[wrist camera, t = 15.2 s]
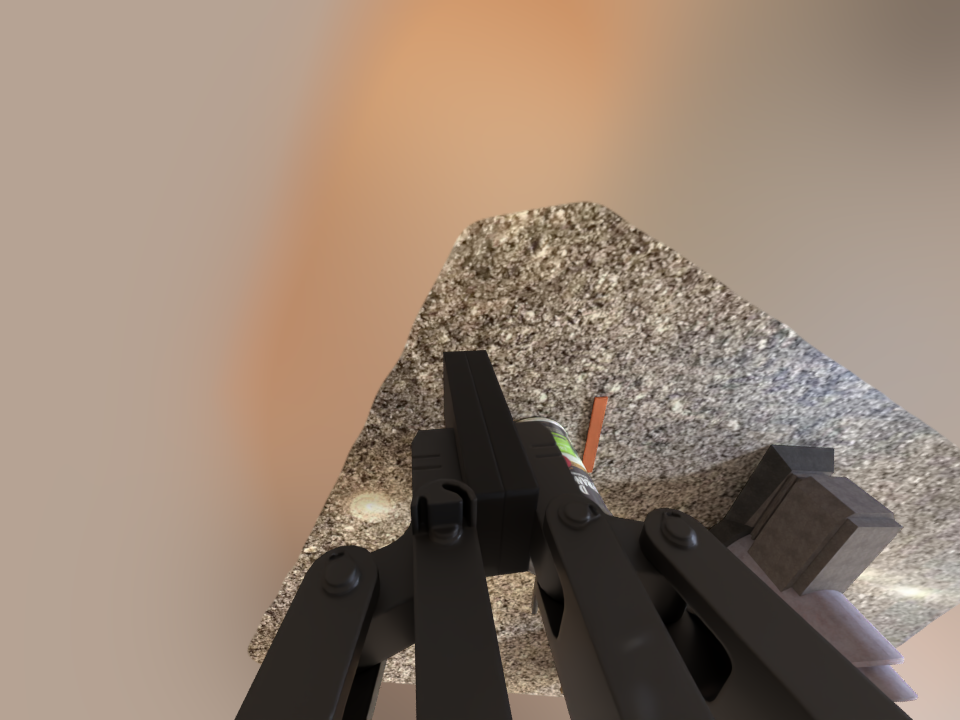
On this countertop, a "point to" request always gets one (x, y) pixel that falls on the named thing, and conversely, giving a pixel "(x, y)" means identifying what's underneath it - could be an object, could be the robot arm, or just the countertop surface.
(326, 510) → the countertop surface
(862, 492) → the machine
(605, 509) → the coffee can
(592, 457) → the strips
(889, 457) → the countertop surface
